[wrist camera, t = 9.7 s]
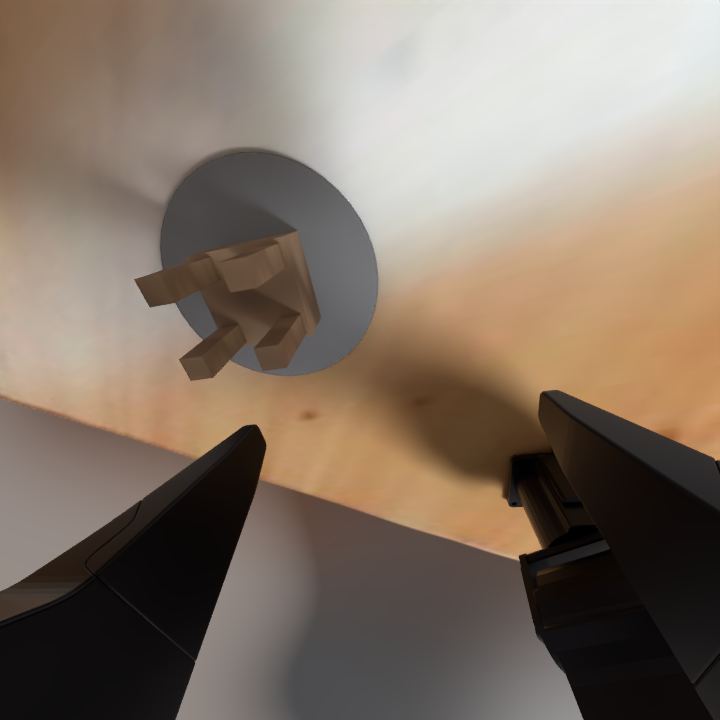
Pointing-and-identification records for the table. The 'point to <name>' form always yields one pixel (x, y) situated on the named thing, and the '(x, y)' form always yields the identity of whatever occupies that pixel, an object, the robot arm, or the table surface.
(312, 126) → the table surface
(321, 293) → the mat
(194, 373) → the stool
